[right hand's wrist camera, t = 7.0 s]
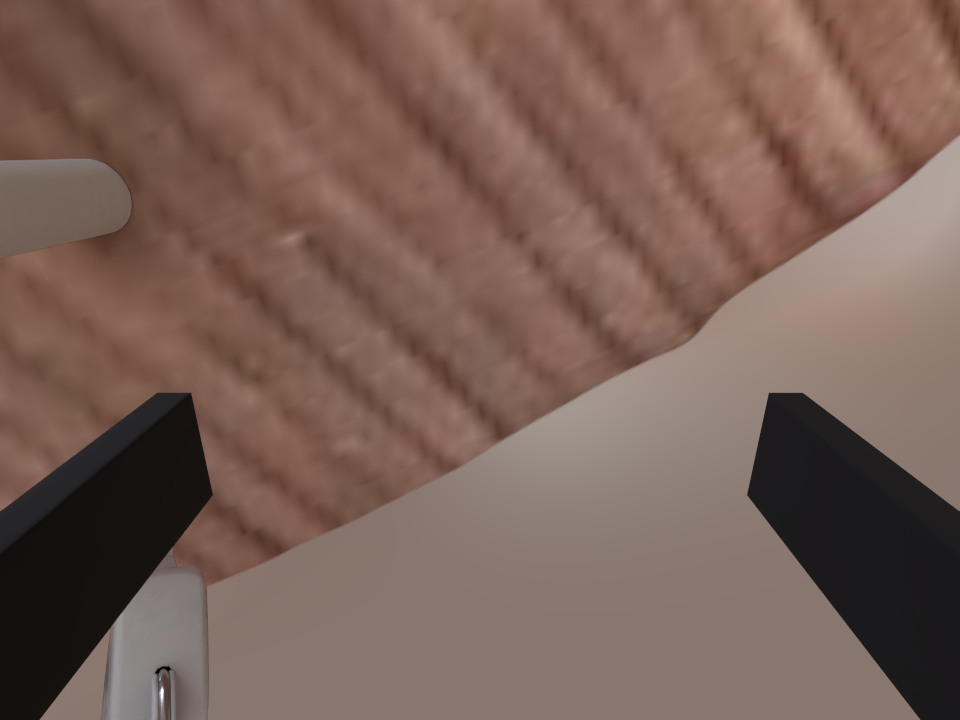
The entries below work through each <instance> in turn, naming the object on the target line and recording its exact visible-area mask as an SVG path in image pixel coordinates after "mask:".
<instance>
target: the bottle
mask: <svg viewBox="0 0 960 720" xmlns="http://www.w3.org/2000/svg"><path fill="white" fill-rule="evenodd" d="M131 210H132V201H131V196H130V192H129V190H128V188H127V186H126V184H125V182H124V181H123V179H122V178H121V177H120V176H119V174H118V173H117V172H116V171H114V170H113V169H112V168H111V167H109V166H108V165H106V164H104V163H102V162H100V161H97V160H93V159H48V160H8V161H0V258H4V257H9V256H13V255H18V254H22V253H26V252H31V251H35V250H39V249H44V248H48V247H53V246H57V245H61V244H66V243H70V242H74V241H79V240H83V239H87V238H92V237H96V236H101V235H105V234H109V233H113V232H116V231H118V230H120V229H121V228H122V227H123V226H124V225H125V224H126V223H127V222H128V220H129V218H130V215H131Z"/></svg>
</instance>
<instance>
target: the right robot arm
mask: <svg viewBox="0 0 960 720" xmlns="http://www.w3.org/2000/svg"><path fill="white" fill-rule="evenodd" d="M212 495H213V494H212V489H211V484H210V480H209V475H208V470H207V466H206V461H205V456H204V452H203V447H202V442H201V438H200V433H199V428H198V423H197V419H196V414H195V409H194V405H193V400H192V395H191V393H157V394H155V395H154V396H153V397H151V398H150V399H149V400H147V401H146V402H145V403H143V404H142V405H141V406H139V407H138V408H137V409H135V410H134V411H133V412H131V413H130V414H129V415H127V416H126V417H125V418H124V419H122V420H121V421H120V422H118V423H117V424H116V425H114V426H113V427H112V428H110V429H109V430H108V431H106V432H105V433H104V434H102V435H101V436H100V437H98V438H97V439H96V440H94V441H93V442H92V443H90V444H89V445H88V446H87V447H85V448H84V449H83V450H81V451H80V452H79V453H77V454H76V455H75V456H73V457H72V458H71V459H69V460H68V461H67V462H65V463H64V464H63V465H61V466H60V467H59V468H57V469H56V470H55V471H53V472H52V473H51V474H50V475H48V476H47V477H46V478H44V479H43V480H42V481H40V482H39V483H38V484H36V485H35V486H34V487H32V488H31V489H30V490H28V491H27V492H26V493H24V494H23V495H22V496H20V497H19V498H18V499H16V500H15V501H14V502H13V503H11V504H10V505H9V506H7V507H6V508H5V509H3V510H2V511H1V512H0V720H40V718H41V717H42V716H43V714H44V713H45V712H46V711H47V709H48V708H49V707H50V705H51V704H52V703H53V702H54V700H55V699H56V698H57V696H58V695H59V694H60V692H61V691H62V690H63V689H64V687H65V686H66V685H67V683H68V682H69V681H70V679H71V678H72V677H73V676H74V674H75V673H76V672H77V670H78V669H79V668H80V667H81V665H82V664H83V663H84V661H85V660H86V659H87V657H88V656H89V655H90V653H91V652H92V651H93V650H94V648H95V647H96V646H97V644H98V643H99V642H100V641H101V639H102V638H103V637H104V635H105V634H106V633H107V631H108V630H109V629H110V628H111V626H112V625H113V624H114V622H115V621H116V620H117V619H118V617H119V616H120V615H121V613H122V612H123V611H124V609H125V608H126V607H127V606H128V604H129V603H130V602H131V600H132V599H133V598H134V597H135V595H136V594H137V593H138V591H139V590H140V589H141V587H142V586H143V585H144V584H145V582H146V581H147V580H148V578H149V577H150V576H151V574H152V573H153V572H154V571H155V569H156V568H157V567H158V565H159V564H160V563H161V562H162V560H163V559H164V558H165V556H166V555H167V554H168V552H169V551H170V550H171V549H172V547H173V546H174V545H175V543H176V542H177V541H178V539H179V538H180V537H181V536H182V534H183V533H184V532H185V530H186V529H187V528H188V527H189V525H190V524H191V523H192V521H193V520H194V519H195V517H196V516H197V515H198V514H199V512H200V511H201V510H202V508H203V507H204V506H205V504H206V503H207V502H208V501H209V499H210V498H211V497H212ZM747 495H748V497H749V498H750V499H751V501H752V502H753V503H754V504H755V506H756V507H757V508H758V510H759V511H760V512H761V514H762V515H763V516H764V517H765V519H766V520H767V521H768V523H769V524H770V525H771V527H772V528H773V529H774V530H775V532H776V533H777V534H778V536H779V537H780V538H781V539H782V541H783V542H784V543H785V545H786V546H787V547H788V549H789V550H790V551H791V552H792V554H793V555H794V556H795V558H796V559H797V560H798V562H799V563H800V564H801V565H802V567H803V568H804V569H805V571H806V572H807V573H808V574H809V576H810V577H811V578H812V580H813V581H814V582H815V584H816V585H817V586H818V587H819V589H820V590H821V591H822V593H823V594H824V595H825V597H826V598H827V599H828V600H829V602H830V603H831V604H832V606H833V607H834V608H835V609H836V611H837V612H838V613H839V615H840V616H841V617H842V619H843V620H844V621H845V622H846V624H847V625H848V626H849V628H850V629H851V630H852V631H853V633H854V634H855V635H856V637H857V638H858V639H859V641H860V642H861V643H862V644H863V646H864V647H865V648H866V650H867V651H868V652H869V654H870V655H871V656H872V657H873V659H874V660H875V661H876V663H877V664H878V665H879V666H880V668H881V669H882V670H883V672H884V673H885V674H886V676H887V677H888V678H889V679H890V681H891V682H892V683H893V685H894V686H895V687H896V689H897V690H898V691H899V692H900V694H901V695H902V696H903V698H904V699H905V700H906V702H907V703H908V704H909V705H910V707H911V708H912V709H913V711H914V712H915V713H916V714H917V716H918V717H919V718H920V720H960V511H958V510H957V509H955V508H954V507H953V506H951V505H950V504H949V503H947V502H946V501H945V500H943V499H942V498H941V497H940V496H938V495H937V494H936V493H934V492H933V491H932V490H930V489H929V488H928V487H926V486H925V485H924V484H922V483H921V482H920V481H918V480H917V479H916V478H914V477H913V476H912V475H910V474H909V473H908V472H906V471H905V470H904V469H903V468H901V467H900V466H899V465H897V464H896V463H895V462H893V461H892V460H891V459H889V458H888V457H887V456H885V455H884V454H883V453H881V452H880V451H879V450H877V449H876V448H875V447H873V446H872V445H871V444H869V443H868V442H867V441H866V440H864V439H863V438H861V437H860V436H859V435H858V434H856V433H855V432H854V431H852V430H851V429H850V428H848V427H847V426H846V425H844V424H843V423H842V422H840V421H839V420H838V419H836V418H835V417H834V416H832V415H831V414H830V413H829V412H827V411H826V410H825V409H823V408H822V407H821V406H819V405H818V404H817V403H815V402H814V401H813V400H811V399H810V398H809V397H807V396H806V395H805V394H803V393H769V395H768V400H767V405H766V410H765V414H764V419H763V423H762V428H761V433H760V438H759V442H758V447H757V452H756V456H755V461H754V466H753V470H752V475H751V480H750V484H749V489H748V494H747Z"/></svg>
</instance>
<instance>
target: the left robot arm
mask: <svg viewBox="0 0 960 720" xmlns="http://www.w3.org/2000/svg"><path fill="white" fill-rule="evenodd" d="M208 697H209V659H208V616H207V589H206V582H205V578H204V575H203V573H202V571H201V569H200V568H199V567H196V566H182V567H177V564H176V561H175V558H174V552H173V547H172V549H171V550H170V551H169V552H168V554H167V555H166V556H165V558H164V559H163V560H162V562H161V563H160V564H159V565H158V567H157V568H156V569H155V571H154V572H153V573H152V574H151V576H150V577H149V578H148V580H147V581H146V582H145V584H144V585H143V586H142V587H141V589H140V590H139V591H138V593H137V594H136V595H135V597H134V598H133V599H132V600H131V602H130V603H129V604H128V606H127V607H126V608H125V609H124V611H123V612H122V613H121V615H120V616H119V617H118V619H117V620H116V621H115V622H114V624H113V625H112V626H111V629H110V638H109V647H108V656H107V665H106V674H105V683H104V692H103V701H102V710H101V719H100V720H207V717H208Z"/></svg>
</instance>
